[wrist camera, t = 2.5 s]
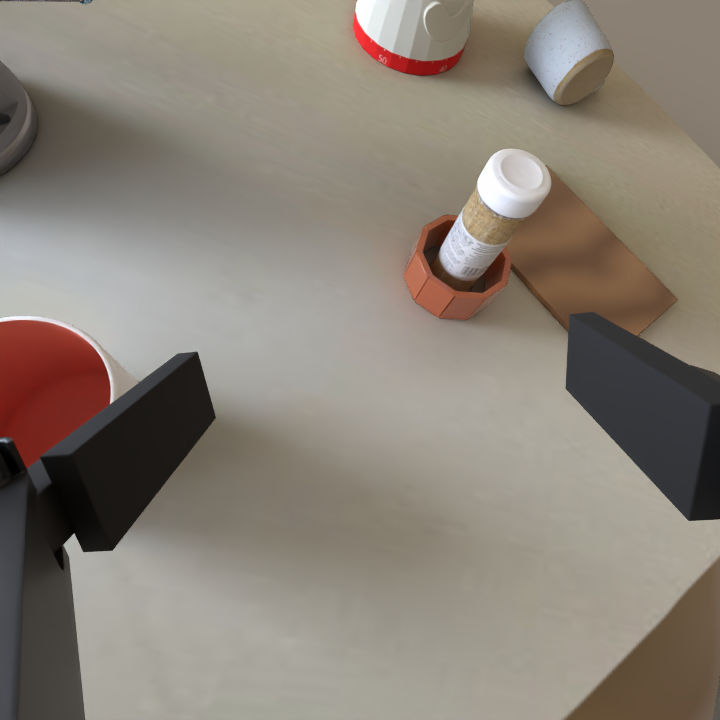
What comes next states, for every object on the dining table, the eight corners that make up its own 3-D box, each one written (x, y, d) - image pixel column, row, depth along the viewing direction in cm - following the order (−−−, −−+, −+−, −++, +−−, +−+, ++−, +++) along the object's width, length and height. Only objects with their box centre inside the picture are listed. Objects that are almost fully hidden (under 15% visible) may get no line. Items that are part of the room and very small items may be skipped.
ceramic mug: (544, 114, 51) (587, 49, 44) (511, 67, 53) (547, -3, 46) (607, 103, 54) (657, 40, 47) (574, 59, 56) (617, -7, 49)
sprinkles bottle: (470, 263, 41) (551, 152, 29) (471, 304, 40) (557, 205, 27) (425, 255, 41) (488, 138, 28) (424, 296, 39) (490, 191, 27)
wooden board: (462, 214, 43) (464, 210, 43) (543, 168, 48) (546, 164, 47) (599, 367, 39) (604, 365, 39) (673, 302, 44) (678, 299, 43)
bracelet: (386, 267, 39) (397, 241, 36) (452, 228, 42) (468, 201, 39) (443, 336, 38) (460, 316, 34) (508, 291, 41) (530, 268, 37)
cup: (195, 418, 32) (159, 377, 22) (98, 545, 28) (7, 558, 19) (84, 350, 32) (4, 282, 23) (-27, 466, 28) (-176, 440, 19)
